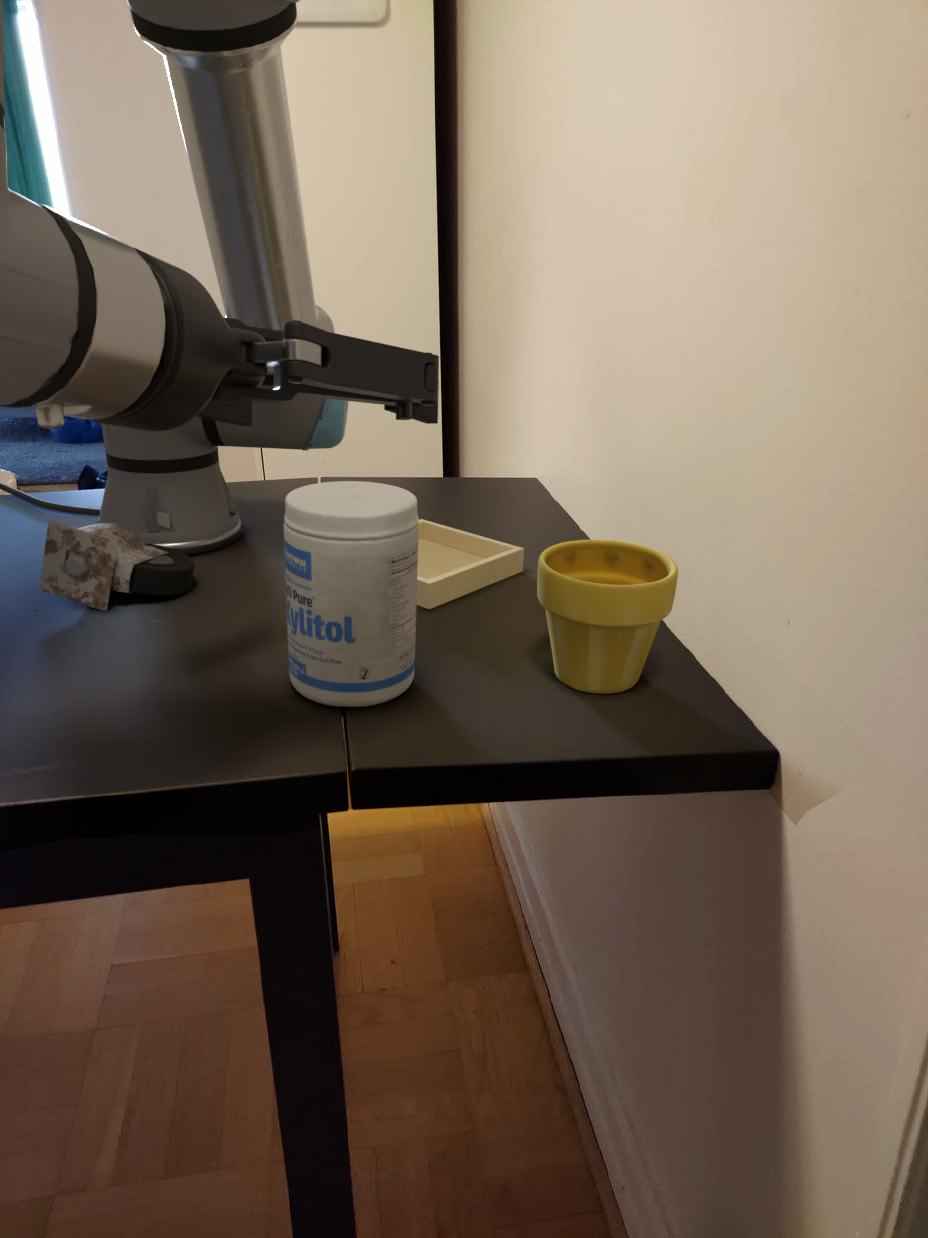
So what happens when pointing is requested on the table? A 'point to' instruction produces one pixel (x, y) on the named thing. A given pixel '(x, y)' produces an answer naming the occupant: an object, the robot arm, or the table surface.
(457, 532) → the shallow tray
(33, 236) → the robot arm
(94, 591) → the caster wheel
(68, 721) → the table surface
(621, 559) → the flower pot
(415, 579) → the supplement tub
